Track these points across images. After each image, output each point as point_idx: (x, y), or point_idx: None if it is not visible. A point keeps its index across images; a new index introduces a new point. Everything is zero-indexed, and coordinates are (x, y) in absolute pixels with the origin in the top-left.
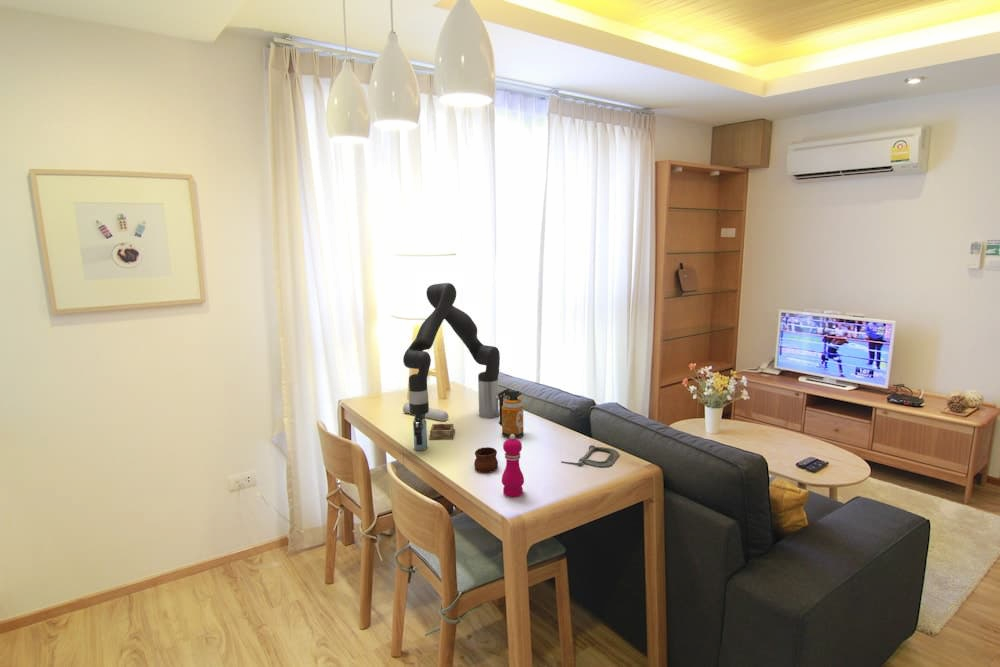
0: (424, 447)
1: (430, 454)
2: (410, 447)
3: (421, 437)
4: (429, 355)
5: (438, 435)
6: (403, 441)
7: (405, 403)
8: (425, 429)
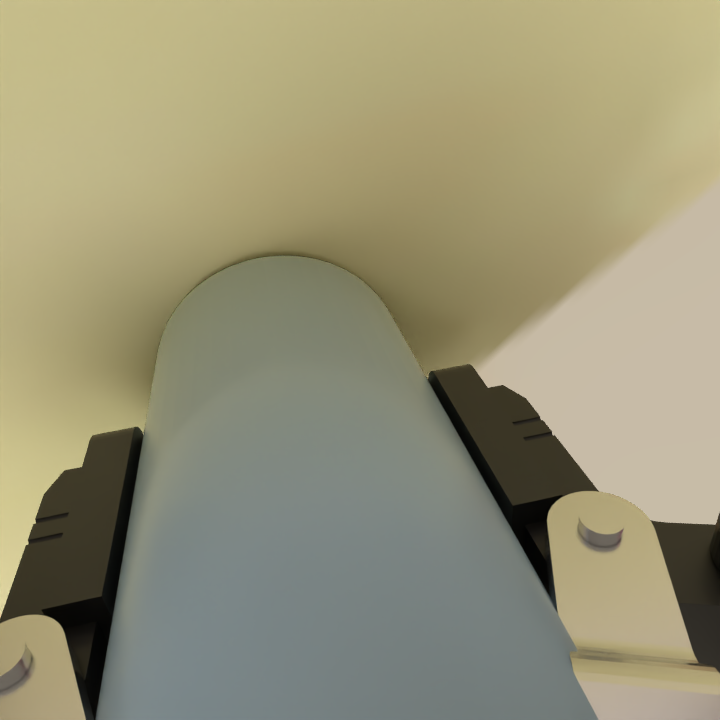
0: (369, 298)
1: (559, 101)
2: None
3: (542, 472)
4: None
5: None
6: None
7: None
8: (461, 589)
